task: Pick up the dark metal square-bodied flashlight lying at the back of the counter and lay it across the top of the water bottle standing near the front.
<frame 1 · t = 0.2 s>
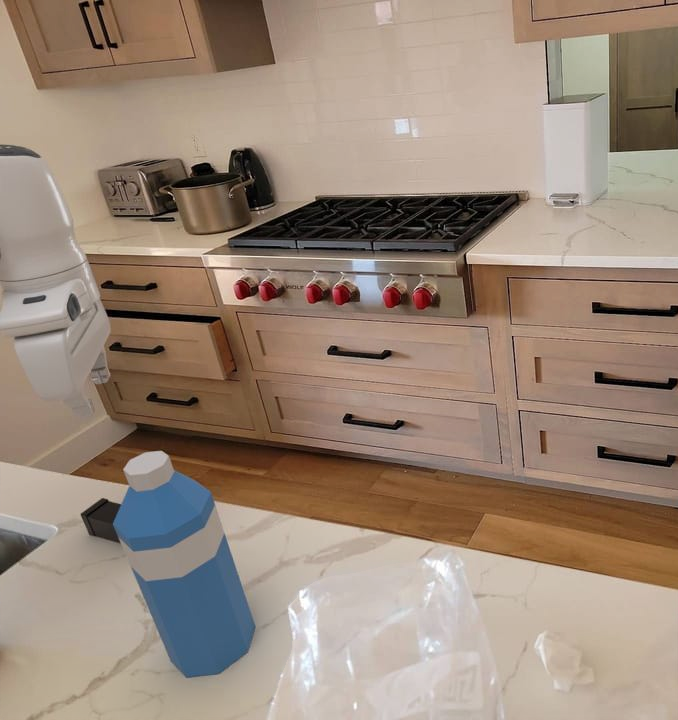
hand: (95, 398, 83), 24 cm above the countertop, tool pointing down, fingers open, 8 cm apart
water bottle: (214, 644, 77), on the countertop
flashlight: (128, 534, 96), on the countertop
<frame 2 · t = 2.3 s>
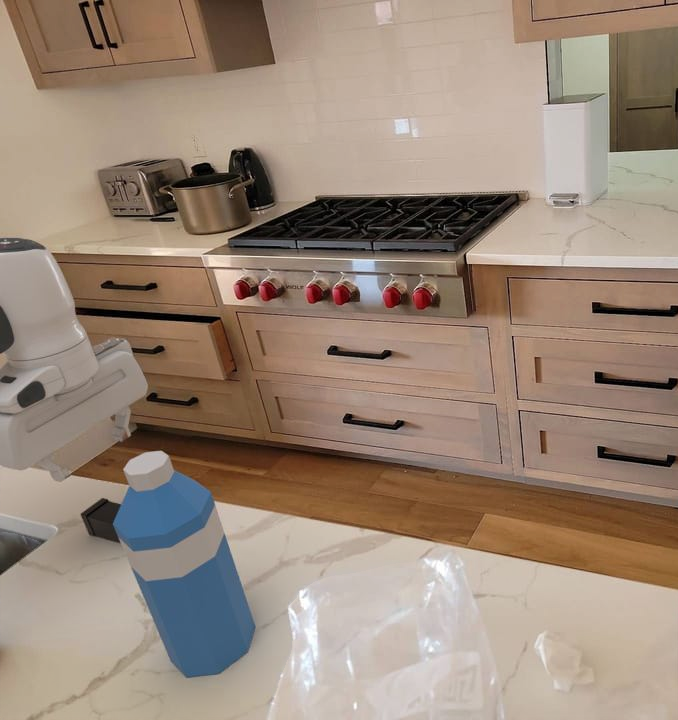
hand: (94, 457, 91), 13 cm above the countertop, tool pointing down, fingers open, 8 cm apart
nothing on the countertop moved.
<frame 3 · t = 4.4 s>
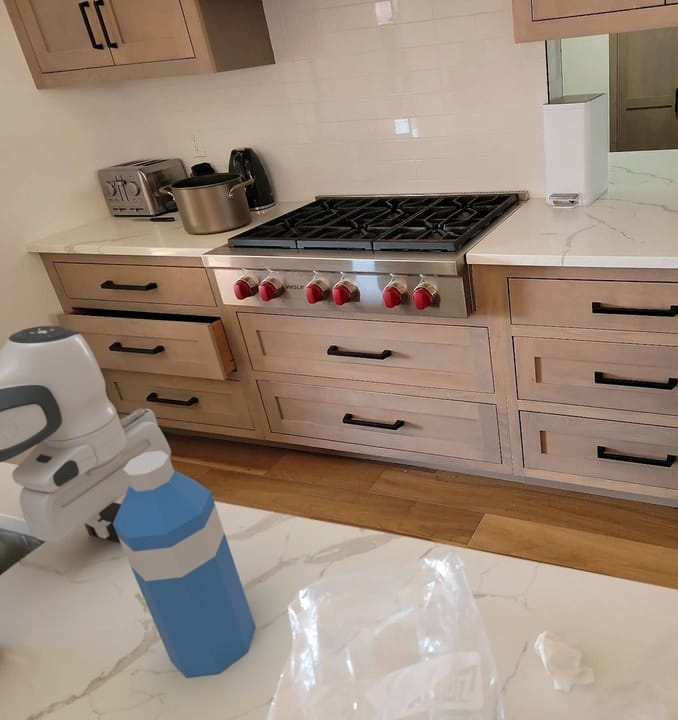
hand: (121, 523, 96), 2 cm above the countertop, tool pointing down, fingers closed on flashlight, 3 cm apart
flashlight: (128, 534, 96), on the countertop, touching gripper
everything else where it was.
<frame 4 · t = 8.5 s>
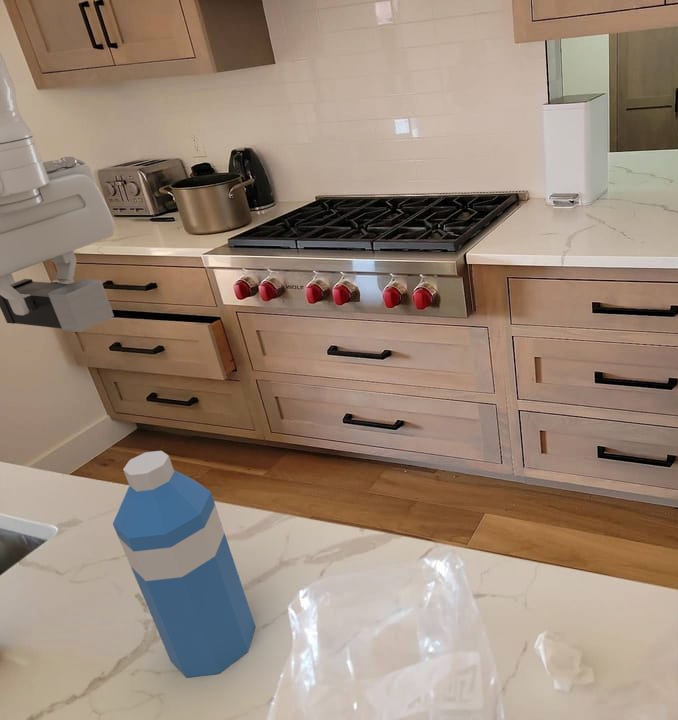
hand: (47, 303, 73), 37 cm above the countertop, tool pointing down, fingers closed on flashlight, 3 cm apart
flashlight: (57, 320, 74), point 36 cm above the countertop, touching gripper
everything else where it was.
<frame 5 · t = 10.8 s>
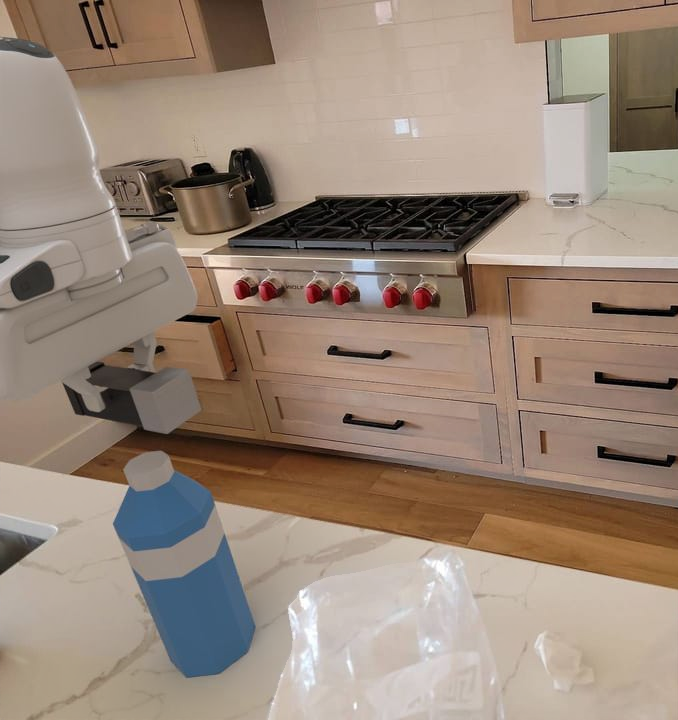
hand: (123, 394, 62), 33 cm above the countertop, tool pointing down, fingers closed on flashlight, 3 cm apart
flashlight: (134, 412, 63), point 31 cm above the countertop, touching gripper
everything else where it was.
when the fingers open (27 cm above the countertop, at t = 12.5 s): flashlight stays where it is, resting on water bottle.
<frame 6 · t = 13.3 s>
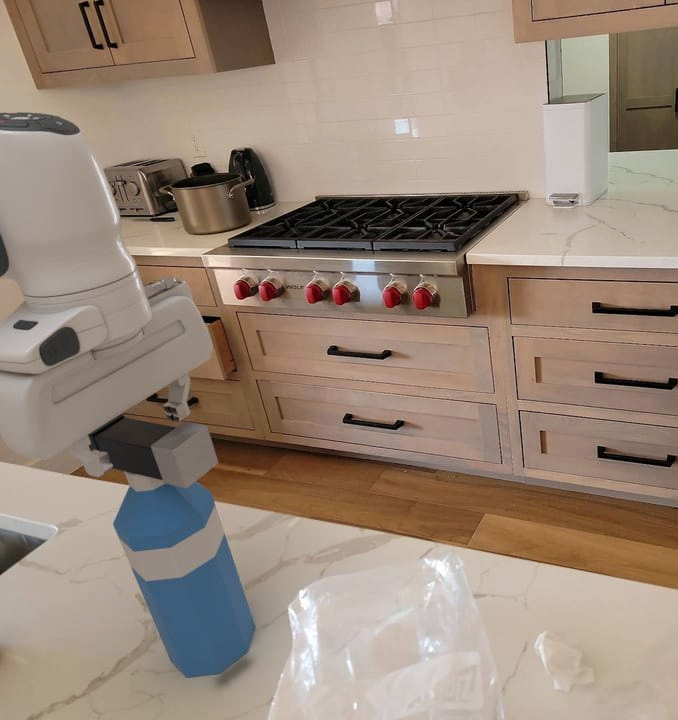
hand: (142, 443, 65), 27 cm above the countertop, tool pointing down, fingers open, 8 cm apart
water bottle: (214, 644, 77), on the countertop, touching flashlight
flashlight: (153, 464, 66), point 25 cm above the countertop, touching water bottle
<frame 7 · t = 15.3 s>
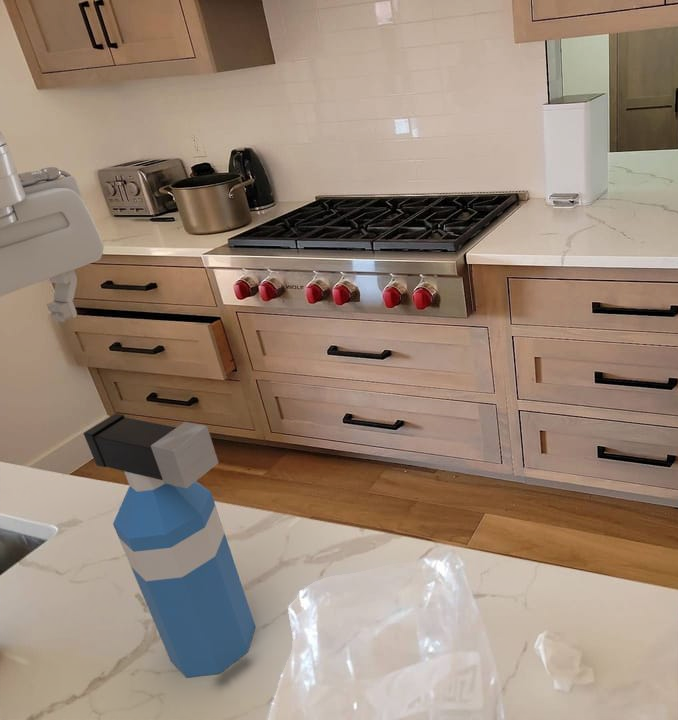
hand: (20, 339, 62), 38 cm above the countertop, tool pointing down, fingers open, 8 cm apart
nothing on the countertop moved.
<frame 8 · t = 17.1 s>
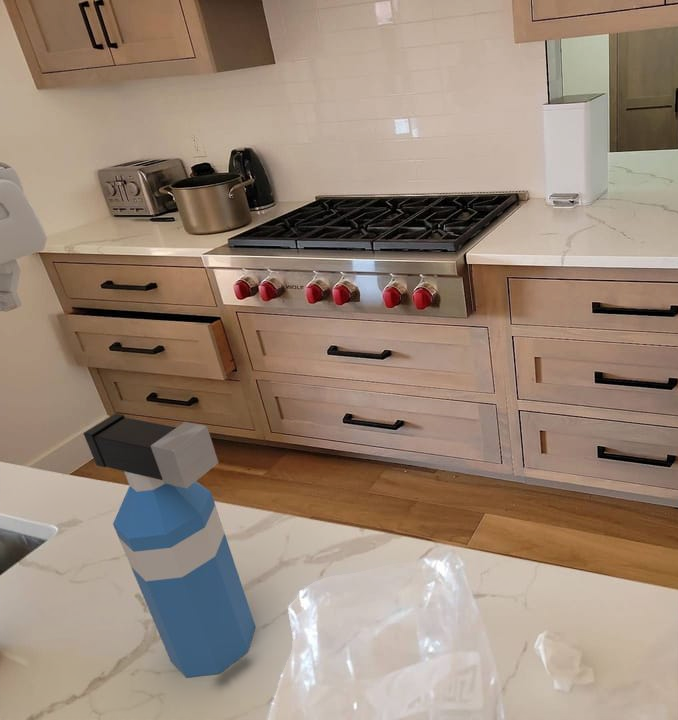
nothing on the countertop moved.
at the end: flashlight point 25.0 cm above the countertop; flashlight 1.1 cm from the water bottle (horizontally); water bottle tilted 0° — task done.
